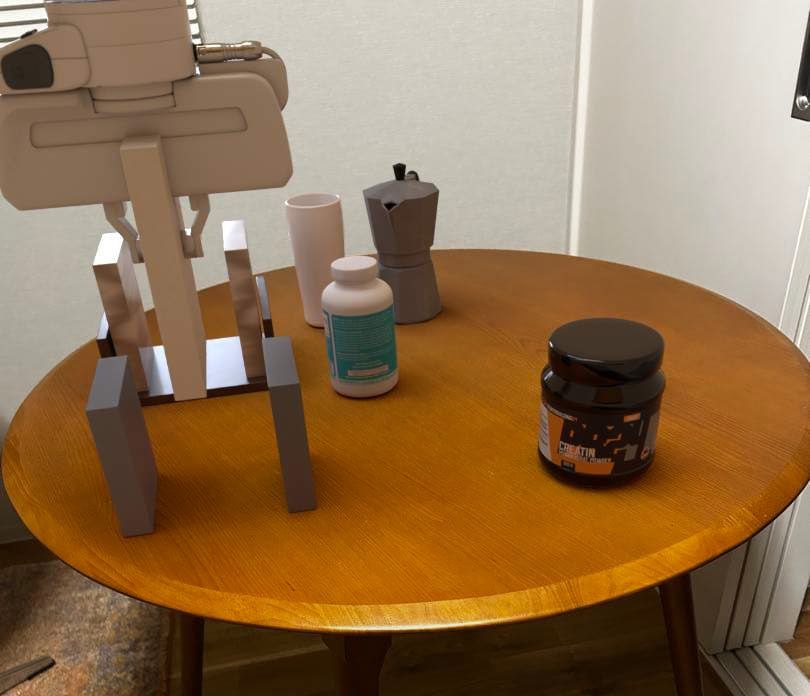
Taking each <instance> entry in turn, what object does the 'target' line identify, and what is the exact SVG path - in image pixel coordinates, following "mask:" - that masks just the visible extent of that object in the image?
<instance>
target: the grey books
mask: <svg viewBox="0 0 810 696" xmlns="http://www.w3.org/2000/svg"><path fill="white" fill-rule="evenodd" d="M262 346H263V353H264V360H265V367H266V375H267V382H268V389H269V390H268V395H269V401H270V407H271V413H272V420H273V425H274V432H275V438H276V444H277V450H278V451H277V452H278V456H279V463H280V469H281V476H282V482H283V489H284V493H285V501H286V507H287V512H288V514H292V513H297V512H299V513H300V512H304V511H312V510H317V509H318V505H317V497H316V491H315V485H314V477H313V469H312V468H313V467H312V462H311V455H310V454H311V453H310V448H309V439H308V431H307V425H306V417H305V409H304V402H303V395H302V387H301V382H300V377H299V372H298V368H297V362H296V357H295V352H294V349H293V343H292V339H291V335H289V334H288V335H280V336H274V337H272V338H264V339H262ZM142 408H143V407H142V406H141V404H140V400H139V396H138V393H137V389H136V385H135V381H134V377H133V373H132V370H131V366H130V362H129V358H128V356H127V355H125V356H117V357H109V358H101V357H100V358H98V359H97V362H96V367H95V371H94V374H93V380H92V383H91V387H90V390H89V394H88V399H87V402H86V406H85V409H84V412H85V416H86V419H87V422H88V426H89V429H90V433H91V435H92V438H93V442H94V445H95V449H96V451H97V456H98V457H99V461H100V464H101V465H100V466H101V469H102V471H103V475H104V478H105V481H106V485H107V487H108V491H109V494H110V497H111V500H112V504H113V506H114V510H115V513H116V514H115V515H116V516H117V520H118V523H119V526H120V529H121V532H122V536H123V538H129V537H135V536H142V535H148V534H149V535H150V534H153V533H154V530H155V519H156V510H157V509H156V508H157V497H158V496H157V495H158V485H159V469H158V465H157V462H156V458H155V453H154V450H153V446H152V443H151V439H150V435H149V431H148V428H147V423H146V420H145V415H144V411H143V409H142Z"/></svg>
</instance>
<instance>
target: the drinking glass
mask: <svg viewBox="0 0 810 696" xmlns="http://www.w3.org/2000/svg"><path fill="white" fill-rule="evenodd" d="M284 205H285V216H286V218H285V219H286V227H287V233H288V239H289V245H290V250H291V255H292V259H293V264H294V267H295V273H296V277H297V282H298V286H299V291H300V296H301V302H302V306H303V307H302V308H303V315H304V320H305V322H306V323H307V324H308V325H309V326H312V327H315V328H325V327H324V318H323V310H322V301H321V297H322V293H323V291H324V289H325V288H326V287H327V286H328V285H329V284H331V283H332V282H334V281H335V280H334V279H333V277H332V271H331V264H332V262H334V261H335V260H337V259H340V258H344V257H346V254H345V253H346V244H345V243H346V240H345V239H346V238H345V222H344V221H345V220H344V213H343V205H342V198H341V196H340V195H339V194H336V193H333V192H327V191H326V192H323V191H321V192H320V191H317V192H316V191H315V192H306V193H305V192H304V193H300V194H296V195H294V196H290V197H288V198H287V199H286V200H285V202H284Z"/></svg>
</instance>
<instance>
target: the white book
mask: <svg viewBox="0 0 810 696" xmlns="http://www.w3.org/2000/svg"><path fill="white" fill-rule="evenodd" d="M120 154H121V159H122V163H123V168H124V172H125V177H126V181H127V186H128V190H129V195H130V199H131V201H130V204H131V207H132V213H133V216H134V223H135V225H136V232H137V233H138V235H139V240H140V244H141V249H142V253H143V258H144V262H145V263H144V266H145V270H146V271H145V272H146V276H147V279H148V284H149V289H150V293H151V298H152V302H153V307H154V311H155V316H156V320H157V325H158V331H159V334H160V339H161V344H162V346H163V348H164V353H165V357H166V362H167V366H168V371H169V375H170V380H171V384H172V389H173V393H174V398H175V401H177V402H182V401H181V400H185V401H190V400H189V399H192V400H198V399H197V398H200V399H206V397H207V367H206V340H207V337H206V333H205V328H204V321H203V316H202V311H201V306H200V301H199V296H198V290H197V286H196V285H197V284H196V280H195V275H194V269H193V268H194V267H193V264H192V258H188V259H185V257H184V253H183V248H184V247H183V246H182V242H181V237H180V235H181V230H184V229H186V226H185V220H184V216H183V215H184V214H183V210H182V205H181V200H180V197H172V195H171V191H170V186H169V181H168V175H167V170H166V165H165V160H164V155H163V149H162V144H161V139H160V134H154V135H141V136H128V137H124V139H123V142H122V145H121V147H120Z"/></svg>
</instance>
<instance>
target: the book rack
mask: <svg viewBox="0 0 810 696" xmlns="http://www.w3.org/2000/svg"><path fill="white" fill-rule="evenodd" d="M222 237H223V253H224V258H225V265H226V270H227V274H228V280H229V286H230V287H229V288H230V293H231V298H232V305H233V310H234V316H235V322H236V326H237V327H236V328H237V332H238V336H229V337H221V338H214V339H206V367H207V397H206V398H215V397H222V396H230V395H239V394H245V393H246V394H247V393H254V392H262V391H269V389H268V382H267V375H266V367H265V360H264V353H263V346H262V339H264V338H272V337H275V331H274V326H273V319H272V313H271V306H270V301H269V296H268V295H269V294H268V290H267V284H266V277H265V275H260V276H256V277H255V279H254V273H253V267H252V260H251V254H250V248H249V241H248V236H247V229H246V224H245V219H235V220H225V221H222ZM91 266H92V267H91V268H92V270H93V274H94V278H95V281H96V286H97V288H98V293H99V296H100V300H101V303H102V307H103V312H102V316H101V321H100V325H99V327H98V330H97V335H96V338H95V341H96V345H97V348H98V351H99V355H100V359H101V358H109V357H117V356H125V355H127V356H128V358H129V362H130V366H131V370H132V373H133V377H134V381H135V385H136V389H137V393H138V396H139V400H140V404H141V407H145V406H154V405H160V404H169V403H176V402H177V403H178V401H175V398H174V393H173V389H172V384H171V380H170V375H169V371H168V366H167V362H166V357H165V353H164V348H163V345H156V346H153V341H152V337H151V333H150V330H149V325H148V321H147V316H146V313H145V309H144V304H143V300H142V296H141V293H140V287H139V283H138V279H137V274H136V271H135V267H134V264H133V262H132V258H131V254H130V250H129V246H128V241H125V240H124V239H123V238H122V237H121V235H120V234H119V233H118V232H111V233H103V234H102V237H101V238H100V242H99V244H98V247H97V251H96V253H95V256H94V260H93V262H92V265H91ZM255 281H256V282H255ZM255 283H256V286H255ZM256 288H257V292H256ZM257 296H258V299H257ZM258 300H259V301H258ZM258 302H259V306H258ZM259 308H260V309H259ZM259 310H260V311H259ZM260 314H261V315H260ZM260 316H261V317H260ZM260 318H261V319H260ZM261 323H262V325H261ZM206 398H205V399H206ZM199 399H201V398H197V399H196V400H199ZM191 400H193V399H189V400H188V401H191ZM183 401H186V400H181V401H180V402H183Z"/></svg>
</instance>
